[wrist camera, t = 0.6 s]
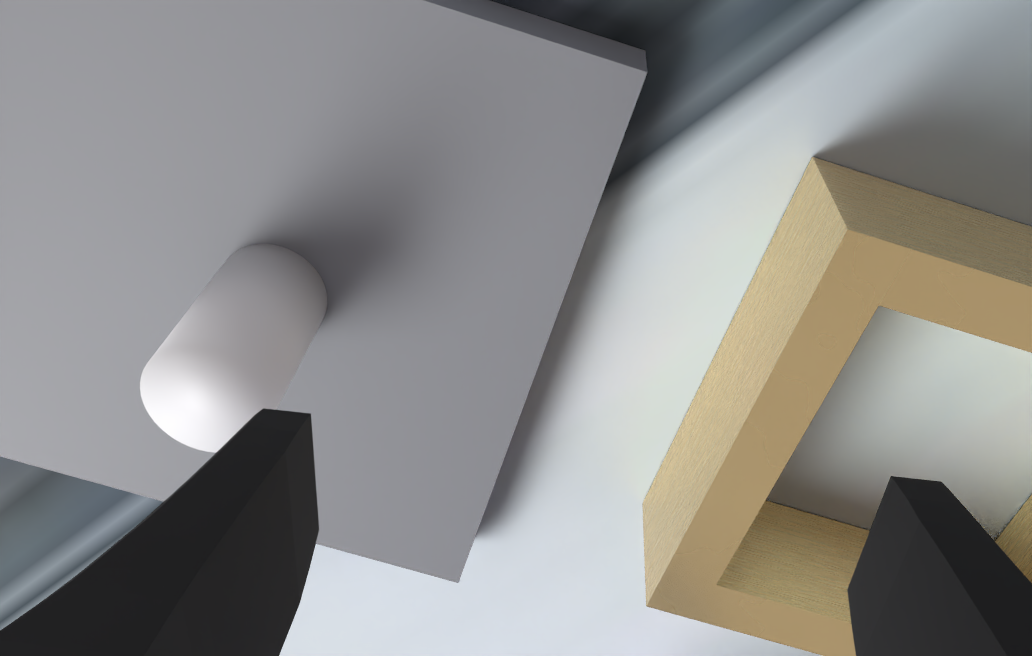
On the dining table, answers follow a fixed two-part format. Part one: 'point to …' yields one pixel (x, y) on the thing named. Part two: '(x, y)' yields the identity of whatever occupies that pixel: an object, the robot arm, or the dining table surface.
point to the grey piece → (295, 241)
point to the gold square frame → (816, 399)
